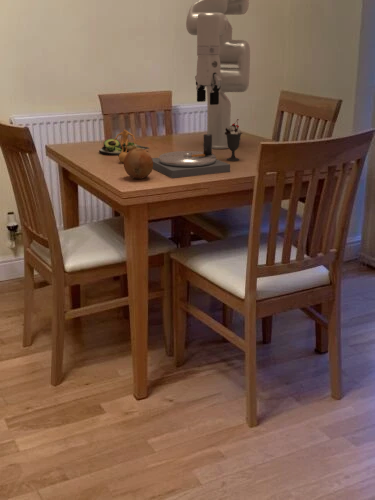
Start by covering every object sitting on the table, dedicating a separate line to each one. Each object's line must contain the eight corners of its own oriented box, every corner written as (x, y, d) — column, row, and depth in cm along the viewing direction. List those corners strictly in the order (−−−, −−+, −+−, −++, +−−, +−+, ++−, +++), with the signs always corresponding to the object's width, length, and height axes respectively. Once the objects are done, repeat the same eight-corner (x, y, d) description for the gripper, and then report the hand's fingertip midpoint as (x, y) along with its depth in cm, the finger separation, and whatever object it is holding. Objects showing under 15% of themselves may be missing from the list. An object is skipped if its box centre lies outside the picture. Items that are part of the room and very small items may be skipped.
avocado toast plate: (152, 148, 265) (152, 137, 263) (145, 157, 248) (145, 145, 246) (106, 147, 266) (105, 136, 265) (96, 156, 250) (95, 144, 248)
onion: (151, 174, 219) (151, 145, 215) (155, 181, 209) (154, 150, 206) (123, 175, 217) (122, 146, 214) (125, 182, 208) (124, 151, 204)
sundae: (243, 158, 243) (244, 118, 238) (239, 162, 237) (240, 121, 232) (227, 157, 245) (227, 117, 240) (222, 160, 239) (222, 120, 234)
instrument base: (200, 159, 241) (201, 152, 240) (230, 171, 222) (230, 163, 221) (146, 165, 232) (146, 158, 231) (172, 178, 213) (172, 170, 212)
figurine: (111, 163, 235) (110, 130, 231) (116, 160, 241) (115, 128, 237) (133, 164, 234) (132, 131, 230) (138, 161, 239) (137, 128, 235)
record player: (199, 153, 239) (199, 130, 236) (226, 163, 222) (226, 138, 219) (150, 158, 230) (149, 134, 227) (173, 169, 213) (173, 143, 211)
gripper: (230, 52, 211) (229, 105, 217) (206, 50, 226) (205, 99, 232) (210, 52, 208) (209, 106, 214) (187, 50, 223) (187, 101, 229)
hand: (207, 103), depth 223 cm, fingers open, 9 cm apart
